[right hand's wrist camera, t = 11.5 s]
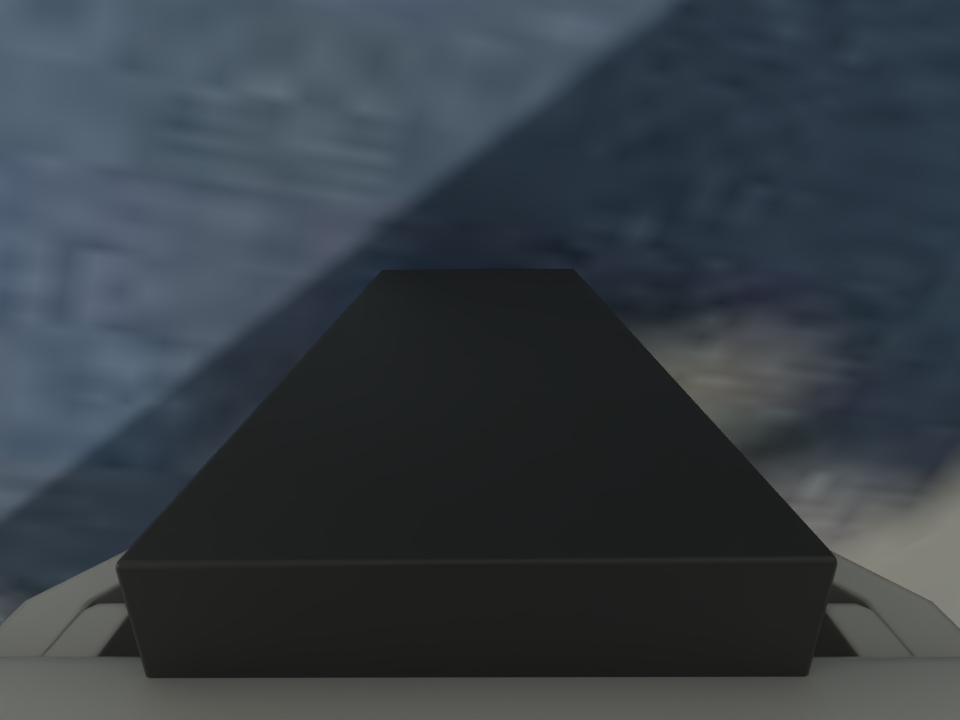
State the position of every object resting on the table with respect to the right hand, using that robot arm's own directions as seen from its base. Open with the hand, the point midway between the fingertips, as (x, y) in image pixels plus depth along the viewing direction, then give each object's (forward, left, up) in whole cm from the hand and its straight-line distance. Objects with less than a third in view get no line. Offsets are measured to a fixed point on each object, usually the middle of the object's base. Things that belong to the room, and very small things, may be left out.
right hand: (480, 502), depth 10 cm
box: (+4, +6, -8) cm, 11 cm away
